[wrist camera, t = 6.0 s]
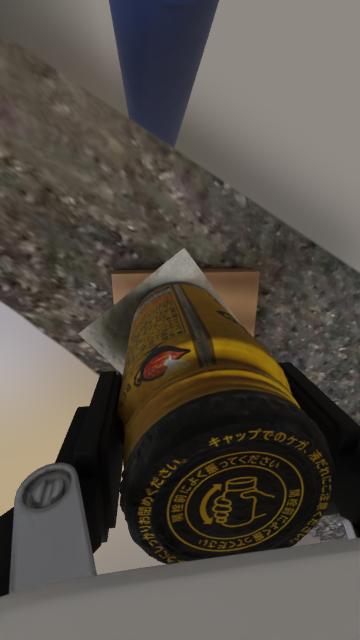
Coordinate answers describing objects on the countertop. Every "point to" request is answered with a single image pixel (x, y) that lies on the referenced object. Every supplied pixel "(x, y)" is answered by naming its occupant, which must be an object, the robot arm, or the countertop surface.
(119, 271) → the shelf
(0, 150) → the countertop surface
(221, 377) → the condiment
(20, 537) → the robot arm
